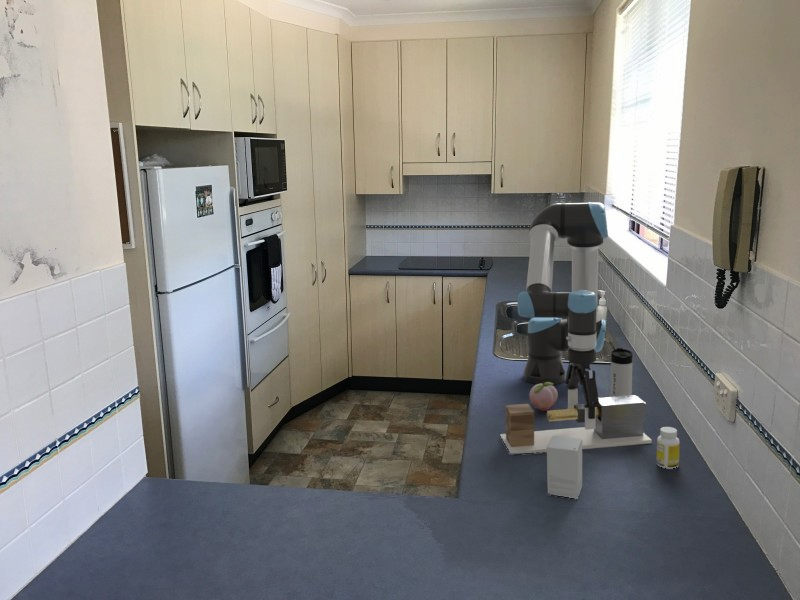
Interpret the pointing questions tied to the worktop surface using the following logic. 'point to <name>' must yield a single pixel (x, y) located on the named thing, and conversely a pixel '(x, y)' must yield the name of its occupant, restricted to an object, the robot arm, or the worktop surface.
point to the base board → (588, 437)
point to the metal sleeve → (621, 417)
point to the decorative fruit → (543, 396)
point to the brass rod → (571, 414)
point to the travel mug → (621, 372)
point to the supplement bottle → (668, 448)
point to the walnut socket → (519, 425)
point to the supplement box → (564, 466)
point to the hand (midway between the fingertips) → (581, 419)
